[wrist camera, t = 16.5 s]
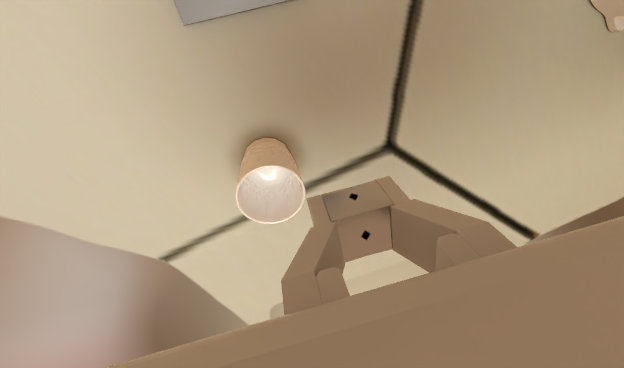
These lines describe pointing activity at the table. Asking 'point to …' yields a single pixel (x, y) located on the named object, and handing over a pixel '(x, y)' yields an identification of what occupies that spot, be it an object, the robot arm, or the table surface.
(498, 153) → the table surface
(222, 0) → the square flange plate
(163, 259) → the table surface
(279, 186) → the white cup
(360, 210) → the robot arm
